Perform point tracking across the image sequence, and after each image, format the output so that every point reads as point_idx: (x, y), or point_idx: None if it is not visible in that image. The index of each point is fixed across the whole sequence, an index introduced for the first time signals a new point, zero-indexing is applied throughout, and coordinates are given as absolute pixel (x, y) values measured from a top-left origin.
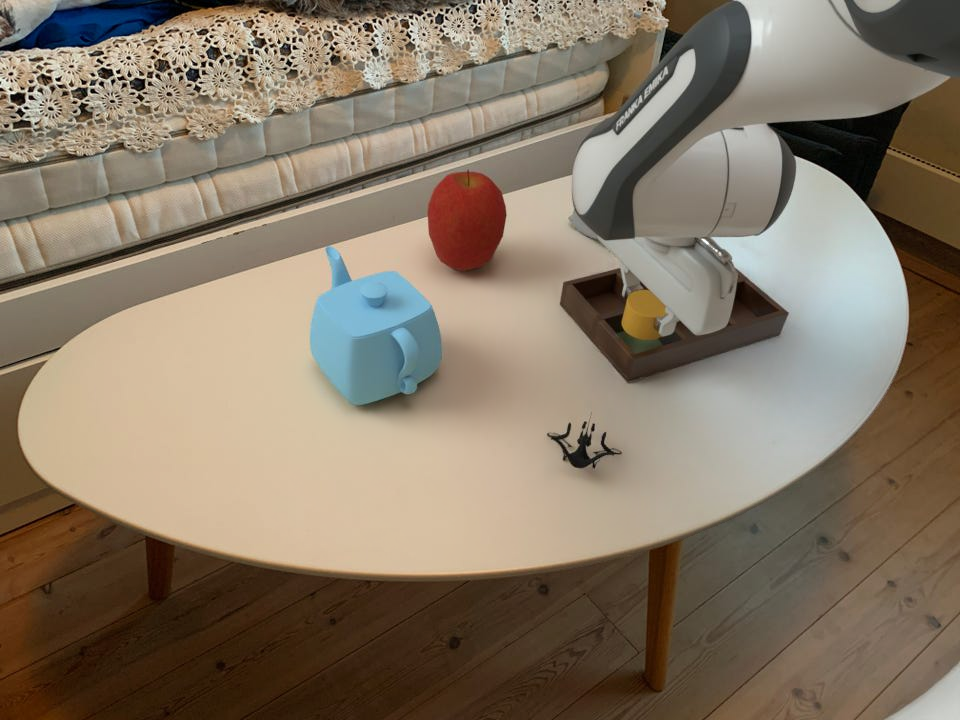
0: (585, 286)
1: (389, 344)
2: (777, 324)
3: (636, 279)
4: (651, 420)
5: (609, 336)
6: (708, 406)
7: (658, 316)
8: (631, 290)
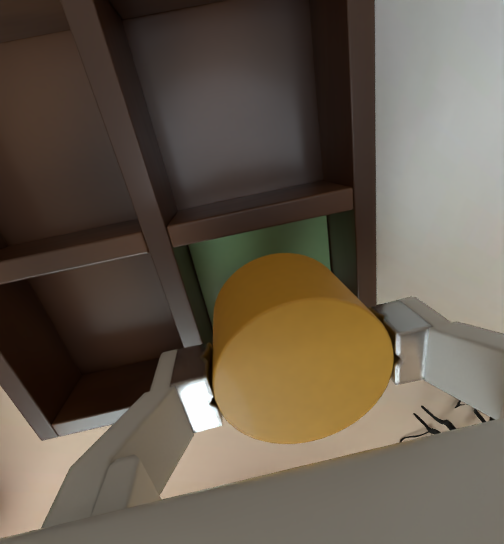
0: (39, 372)
1: None
2: None
3: (164, 419)
4: (442, 311)
5: None
6: (468, 184)
7: (388, 371)
8: (214, 421)
